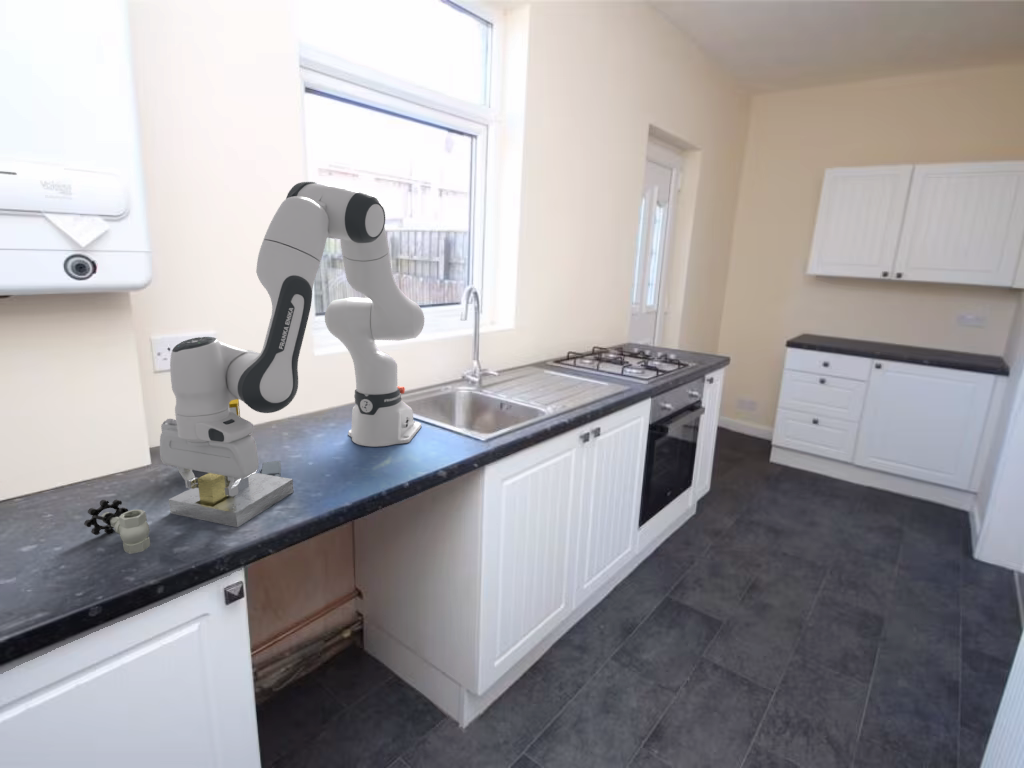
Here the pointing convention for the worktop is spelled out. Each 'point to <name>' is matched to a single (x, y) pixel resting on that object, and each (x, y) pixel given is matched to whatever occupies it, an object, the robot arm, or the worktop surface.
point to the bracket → (271, 468)
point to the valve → (122, 525)
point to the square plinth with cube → (235, 500)
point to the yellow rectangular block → (211, 489)
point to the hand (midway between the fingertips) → (212, 491)
